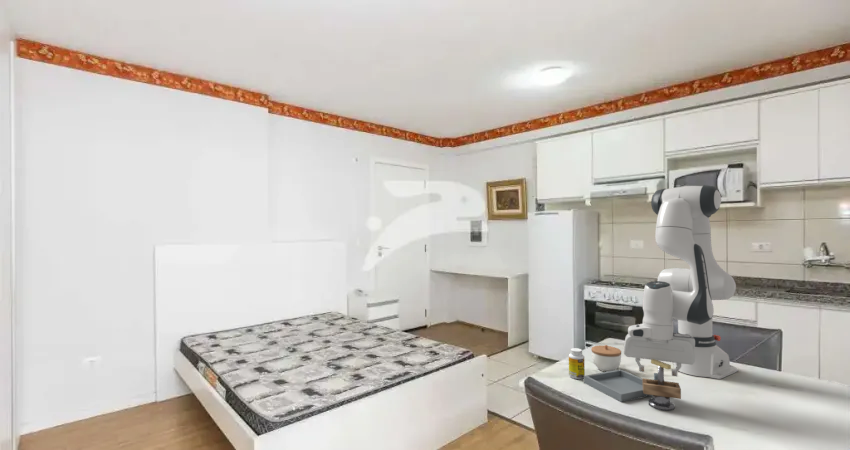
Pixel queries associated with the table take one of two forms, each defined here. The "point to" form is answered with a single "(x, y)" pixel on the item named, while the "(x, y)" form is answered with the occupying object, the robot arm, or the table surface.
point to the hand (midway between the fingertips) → (657, 373)
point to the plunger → (662, 401)
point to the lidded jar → (606, 357)
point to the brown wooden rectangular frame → (661, 388)
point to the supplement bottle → (576, 364)
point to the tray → (617, 385)
